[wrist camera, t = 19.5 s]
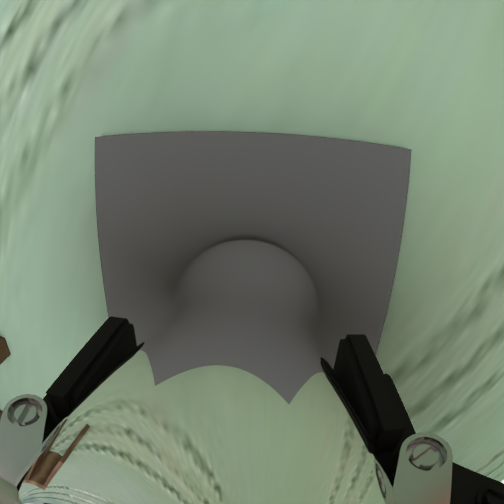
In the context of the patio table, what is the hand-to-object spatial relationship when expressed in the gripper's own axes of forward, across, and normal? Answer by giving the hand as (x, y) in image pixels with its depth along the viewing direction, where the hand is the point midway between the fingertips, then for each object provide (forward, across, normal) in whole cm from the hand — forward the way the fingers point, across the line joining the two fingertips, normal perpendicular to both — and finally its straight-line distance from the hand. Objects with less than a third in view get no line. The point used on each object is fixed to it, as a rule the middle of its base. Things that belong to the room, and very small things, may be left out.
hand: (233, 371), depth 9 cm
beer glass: (+5, 0, 0) cm, 5 cm away
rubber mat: (+6, 0, 0) cm, 6 cm away
